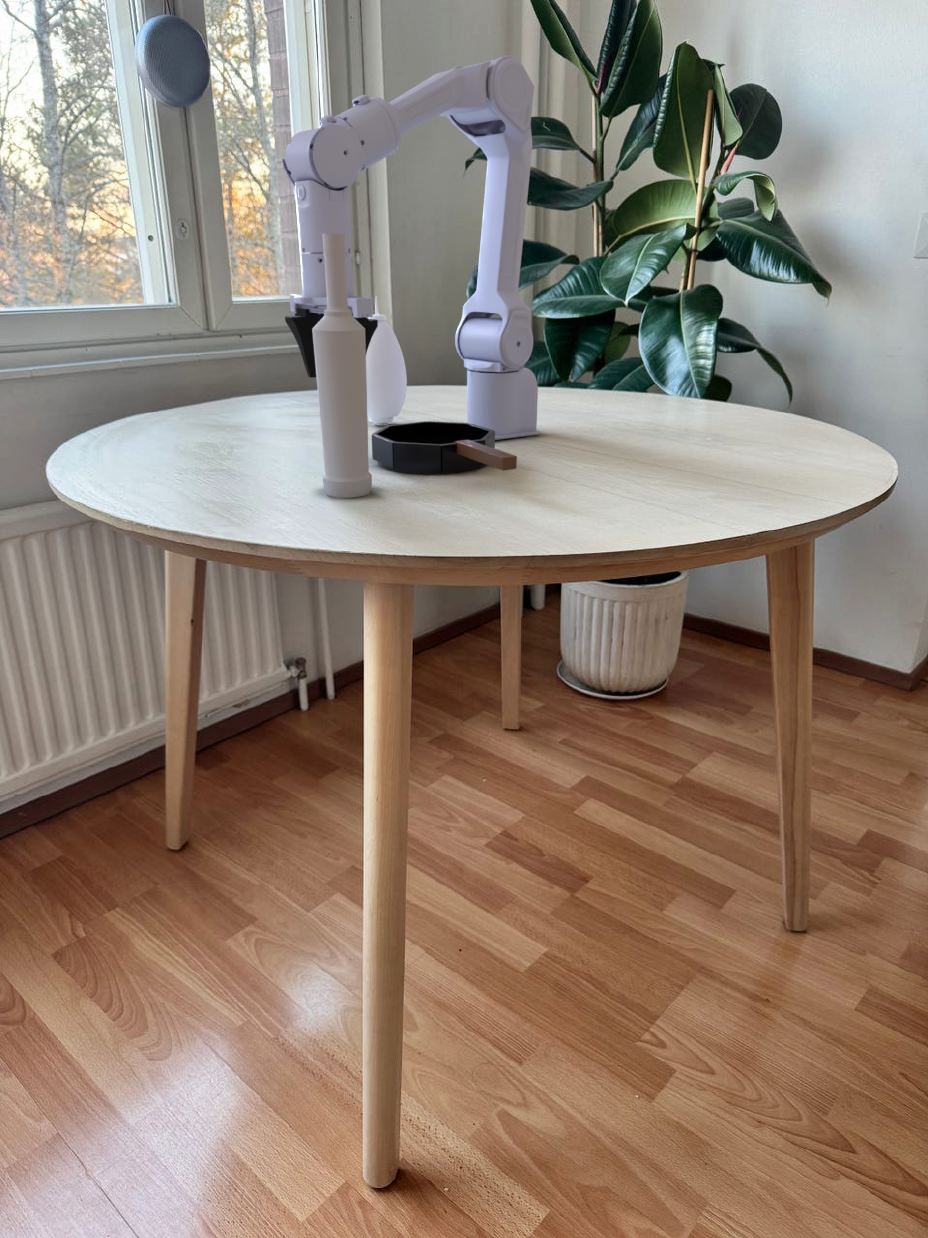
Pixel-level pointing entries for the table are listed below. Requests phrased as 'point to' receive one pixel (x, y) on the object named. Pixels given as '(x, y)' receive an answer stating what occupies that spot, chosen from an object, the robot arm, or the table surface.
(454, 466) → the pan
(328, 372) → the bottle
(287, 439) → the table surface
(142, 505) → the table surface
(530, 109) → the robot arm
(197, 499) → the table surface
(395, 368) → the sauce bottle
